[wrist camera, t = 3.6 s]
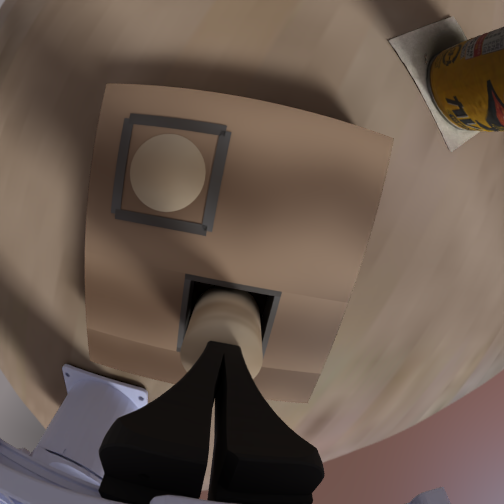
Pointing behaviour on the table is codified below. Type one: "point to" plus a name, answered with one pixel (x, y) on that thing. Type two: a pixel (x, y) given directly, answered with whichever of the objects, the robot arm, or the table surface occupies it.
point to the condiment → (457, 77)
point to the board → (224, 226)
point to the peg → (224, 326)
